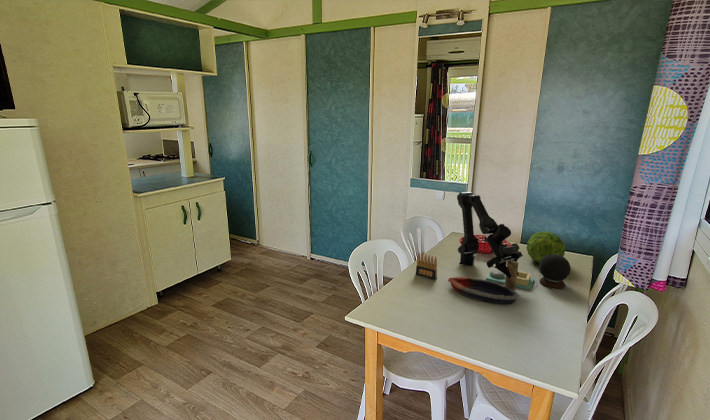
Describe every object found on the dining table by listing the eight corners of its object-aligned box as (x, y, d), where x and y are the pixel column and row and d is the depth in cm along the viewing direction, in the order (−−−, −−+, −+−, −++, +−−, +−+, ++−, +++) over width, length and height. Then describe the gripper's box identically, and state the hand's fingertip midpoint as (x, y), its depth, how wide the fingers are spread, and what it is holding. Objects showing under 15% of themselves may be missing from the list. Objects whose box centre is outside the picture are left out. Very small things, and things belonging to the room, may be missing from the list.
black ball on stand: (536, 286, 177) (540, 256, 173) (537, 276, 188) (541, 248, 184) (568, 292, 171) (573, 262, 167) (567, 281, 182) (572, 252, 179)
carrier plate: (485, 279, 184) (486, 272, 183) (491, 271, 193) (492, 264, 192) (529, 290, 173) (531, 282, 172) (533, 280, 183) (534, 273, 182)
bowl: (504, 264, 203) (505, 255, 202) (452, 253, 219) (452, 245, 217) (515, 248, 227) (516, 240, 226) (467, 239, 243) (467, 232, 241)
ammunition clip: (436, 278, 184) (438, 256, 181) (435, 280, 183) (436, 257, 180) (417, 273, 190) (418, 251, 187) (415, 274, 189) (416, 252, 186)
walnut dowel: (503, 289, 172) (506, 263, 169) (505, 285, 176) (508, 259, 173) (514, 291, 170) (517, 265, 167) (515, 287, 174) (519, 261, 171)
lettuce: (566, 260, 210) (564, 228, 210) (566, 268, 189) (564, 232, 189) (529, 260, 219) (527, 229, 219) (526, 267, 199) (523, 233, 198)
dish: (512, 312, 154) (514, 301, 153) (442, 291, 171) (443, 281, 170) (521, 297, 167) (522, 287, 165) (454, 280, 184) (455, 270, 182)
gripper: (494, 241, 166) (512, 273, 160) (521, 235, 175) (540, 265, 168) (478, 252, 175) (495, 283, 168) (505, 245, 184) (522, 274, 177)
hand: (514, 276), depth 170 cm, fingers closed on walnut dowel, 5 cm apart
